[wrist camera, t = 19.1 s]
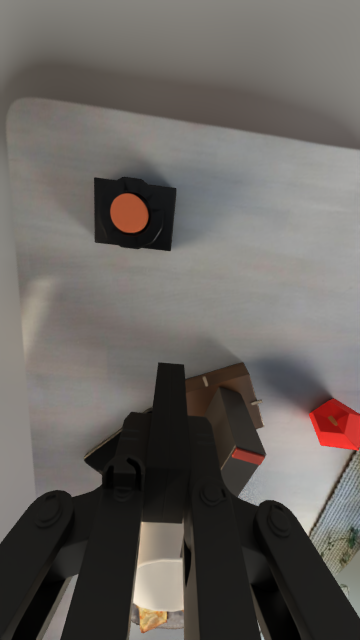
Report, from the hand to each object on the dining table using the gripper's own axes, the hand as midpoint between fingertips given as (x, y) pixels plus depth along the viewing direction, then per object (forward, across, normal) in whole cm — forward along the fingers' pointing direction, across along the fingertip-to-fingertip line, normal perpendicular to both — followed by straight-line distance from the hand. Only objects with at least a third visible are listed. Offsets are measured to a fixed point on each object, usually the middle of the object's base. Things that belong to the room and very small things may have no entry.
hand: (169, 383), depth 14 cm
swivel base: (+16, +7, -13) cm, 22 cm away
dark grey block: (+13, +7, -13) cm, 20 cm away
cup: (+17, +3, -35) cm, 39 cm away
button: (+13, -5, +10) cm, 17 cm away
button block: (+16, -5, +10) cm, 20 cm away
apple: (+17, +24, -14) cm, 33 cm away
